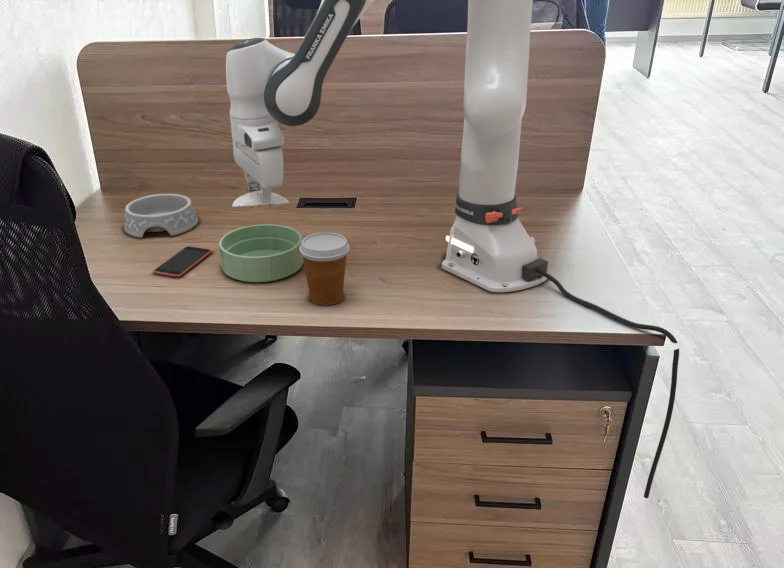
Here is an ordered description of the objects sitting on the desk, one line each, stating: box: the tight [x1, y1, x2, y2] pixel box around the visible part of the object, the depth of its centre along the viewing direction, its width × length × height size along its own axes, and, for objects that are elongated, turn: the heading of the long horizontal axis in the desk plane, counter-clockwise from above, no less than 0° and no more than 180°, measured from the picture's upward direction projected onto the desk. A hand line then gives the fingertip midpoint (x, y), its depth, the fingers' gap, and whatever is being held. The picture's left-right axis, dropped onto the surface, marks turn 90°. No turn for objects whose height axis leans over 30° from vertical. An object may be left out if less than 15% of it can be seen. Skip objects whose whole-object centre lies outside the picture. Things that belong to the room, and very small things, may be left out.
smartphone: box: [153, 245, 212, 278], centre depth 160 cm, size 7×1×14 cm
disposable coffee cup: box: [299, 231, 351, 306], centre depth 139 cm, size 10×10×12 cm
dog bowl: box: [123, 193, 199, 238], centre depth 179 cm, size 17×18×5 cm
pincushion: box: [231, 182, 290, 209], centre depth 149 cm, size 12×6×6 cm, turn 91°
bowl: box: [218, 223, 304, 283], centre depth 155 cm, size 18×18×6 cm
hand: (259, 196), depth 149 cm, fingers closed on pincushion, 6 cm apart
